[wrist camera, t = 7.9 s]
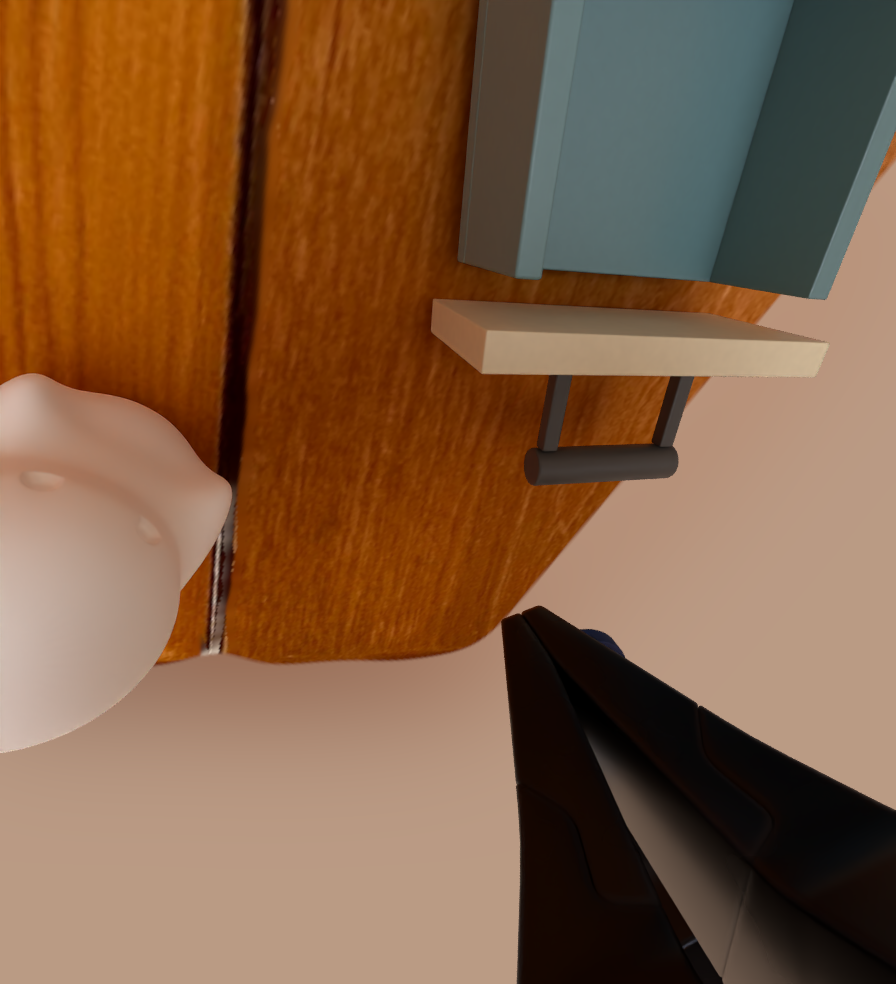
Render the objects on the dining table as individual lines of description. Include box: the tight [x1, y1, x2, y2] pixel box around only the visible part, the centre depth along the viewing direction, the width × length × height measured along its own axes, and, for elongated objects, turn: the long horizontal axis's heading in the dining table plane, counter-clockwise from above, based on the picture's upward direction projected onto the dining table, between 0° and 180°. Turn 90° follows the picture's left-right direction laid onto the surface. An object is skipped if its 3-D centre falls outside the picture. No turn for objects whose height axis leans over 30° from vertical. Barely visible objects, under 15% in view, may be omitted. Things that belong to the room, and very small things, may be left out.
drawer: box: [431, 0, 896, 486], centre depth 16 cm, size 20×12×6 cm, turn 175°
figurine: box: [0, 373, 232, 753], centre depth 14 cm, size 7×8×12 cm
